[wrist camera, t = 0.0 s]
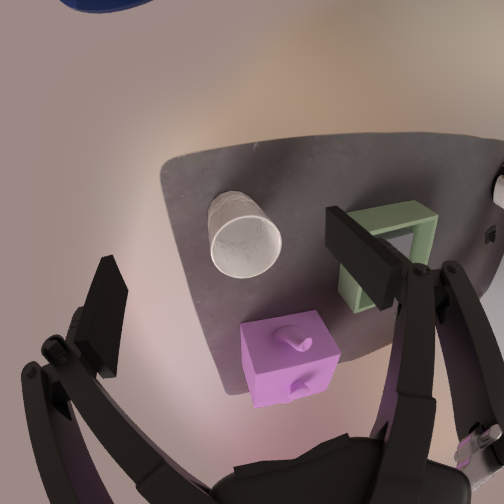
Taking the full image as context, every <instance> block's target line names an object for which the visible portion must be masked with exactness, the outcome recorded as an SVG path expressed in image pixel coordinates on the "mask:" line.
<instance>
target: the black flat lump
mask: <svg viewBox="0 0 504 504" xmlns="http://www.w3.org/2000/svg"><path fill="white" fill-rule="evenodd" d="M495 229H496V226H493V227H491V229H489V230H488V231H487V232H486V241H485V243H486V244H488V243H489V242H491V241H492V242H493V243H494V241H495V236H496V235H495V233H496V230H495Z"/></svg>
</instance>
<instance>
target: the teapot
mask: <svg viewBox="0 0 504 504" xmlns="http://www.w3.org/2000/svg"><path fill="white" fill-rule="evenodd" d="M240 328H241V355H242V366H243V370H244V373H245V377H246V380H247V384H248V388H249V391H250V395H251V398H252V402H253V405H254V408H260V407H265V406H269V405H274V404H278V403H289V402H291V401H292V400H294V399H298V398H302V397H305V396H309V395H313V394H316V393H319V392H323V391H326V389H327V387H328V385H329V382H330V380H331V378H332V375H333V373H334V370H335V368H336V365H337V363H338V360H339V357H340V355H341V351H340V350H339V348H338V346H337V345H336V343H335V341H334V339H333V338H332V336H331V334H330V333H329V331H328V329H327V327H326V326H325V324H324V322H323V321H322V319H321V317H320V316H319V314H318V312H317V311H316V310H312V311H307V312H302V313H297V314H292V315H286V316H281V317H275V318H270V319H264V320H258V321H252V322H246V323H240Z"/></svg>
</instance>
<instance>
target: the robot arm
mask: <svg viewBox="0 0 504 504" xmlns="http://www.w3.org/2000/svg"><path fill="white" fill-rule="evenodd" d="M325 246H326V247H327V248H328V249H329V250H330V252H331V253H332V254H333V255H334V256H335V257H336V258H337V260H338V261H339V262H340V263H341V264H342V265H343V267H344V268H345V269H346V270H347V271H348V272H349V274H350V275H351V276H352V277H353V278H354V280H355V281H356V282H357V283H358V284H359V286H360V287H361V288H362V289H363V290H364V292H365V293H366V294H367V295H368V297H369V298H370V299H371V300H372V301H373V303H374V304H375V305H376V306H377V308H378V309H379V310H380V311H382V310H385V309H387V308H390V307H392V305H393V301H394V298H395V299H396V300H397V301H398V302H399V303H398V306H397V310H396V313H395V316H394V318H396V322H395V330H394V337H393V344H392V350H391V356H390V361H389V367H388V372H387V377H386V382H385V386H384V391H383V396H382V399H381V403H380V407H379V411H378V415H377V419H376V422H375V424H374V426H373V429H372V431H371V433H370V436H369V438H368V437H349V435H348V433H346V434H343V435H341V436H338V437H336V438H334V439H331V440H328V441H325V442H323V443H320V444H319V445H318V446H316V447H314V448H312V449H311V450H309V451H308V452H306V453H304V454H303V455H301V456H299V457H298V458H296V459H291V460H276V461H275V460H273V461H259V462H255V463H250V464H246V465H241V466H236V467H233V468H234V472H233V473H231V474H229V475H227V476H225V477H224V478H222V479H221V480H220V481H218V482H217V483H216V484H215V485H214V486H213V487H212V489H211V488H209V487H208V486H207V485H205V484H204V483H202V482H201V481H199V480H198V479H196V478H195V477H194V476H192V475H191V474H189V473H188V472H187V471H186V470H185V469H183V468H182V467H181V466H180V465H179V464H177V463H176V462H175V461H174V460H173V459H171V458H170V457H169V456H168V455H167V454H166V453H165V452H164V451H163V450H161V449H160V448H159V447H158V446H157V445H156V444H155V443H154V442H153V441H152V440H151V439H150V438H149V437H148V436H147V435H146V434H145V433H144V432H143V431H142V430H141V429H140V428H139V427H138V426H137V425H136V424H135V423H134V422H133V421H132V420H131V419H130V418H129V417H128V415H126V414H125V412H124V411H123V410H122V409H121V408H120V407H119V405H118V404H117V403H116V402H115V401H114V400H113V398H112V397H111V396H110V395H109V394H108V392H107V391H106V390H105V389H104V388H103V386H102V385H101V384H100V383H99V381H98V380H97V379H96V375H97V372H98V373H99V375H100V376H101V377H102V378H103V379H104V378H113V377H116V374H117V364H118V355H119V347H120V339H121V332H122V325H123V319H124V312H125V307H126V301H127V296H128V289H127V286H126V284H125V282H124V280H123V278H122V275H121V273H120V271H119V269H118V266H117V264H116V262H115V259H114V257H113V255H109V256H105V257H102V258H101V260H100V263H99V265H98V268H97V270H96V273H95V276H94V278H93V281H92V284H91V286H90V289H89V292H88V295H87V298H86V301H85V304H84V306H82V307H78V309H77V310H76V311H75V313H74V314H73V317H72V320H71V324H70V326H69V330H68V333H67V336H66V339H65V340H64V339H63V337H61V336H60V335H53V336H51V337H49V338H48V339H47V340H46V341H45V342H44V343H43V345H42V348H41V352H42V355H43V356H44V357H45V358H46V359H47V361H48V362H49V364H47V365H45V366H43V367H41V366H40V365H39V364H38V363H37V362H35V361H32V362H30V363H28V364H27V365H26V366H25V367H24V368H23V370H22V373H21V382H22V392H23V400H24V407H25V413H26V419H27V425H28V429H29V435H30V440H31V444H32V448H33V452H34V455H35V459H36V463H37V466H38V470H39V473H40V476H41V479H42V482H43V485H44V488H45V490H46V493H47V496H48V498H49V501H50V504H114V503H113V501H112V499H111V498H110V496H109V494H108V492H107V490H106V488H105V486H104V484H103V482H102V480H101V478H100V476H99V474H98V472H97V470H96V468H95V465H94V463H93V461H92V459H91V457H90V454H89V452H88V449H87V447H86V444H85V442H84V439H83V437H82V434H81V431H80V428H79V426H78V423H77V420H76V417H75V414H74V411H73V408H72V404H71V401H70V400H72V402H73V404H74V405H75V407H76V408H77V410H78V411H79V413H80V414H81V416H82V418H83V419H84V420H85V422H86V423H87V425H88V426H89V427H90V429H91V430H92V432H93V433H94V434H95V436H96V437H97V439H98V440H99V441H100V443H101V444H102V445H103V446H104V448H105V449H106V450H107V451H108V453H109V454H110V455H111V456H112V458H113V459H114V460H115V461H116V462H117V463H118V464H119V466H120V467H121V468H122V469H123V470H124V471H125V472H126V474H127V475H128V476H129V477H130V478H131V479H132V480H133V481H134V482H135V484H136V489H137V491H138V492H139V493H140V494H141V495H142V496H143V497H144V498H145V499H146V500H147V501H148V502H149V503H150V504H471V493H472V492H474V491H475V490H476V489H478V488H479V487H480V486H482V485H483V484H484V483H485V482H486V481H488V480H489V479H490V478H491V477H493V476H494V475H495V474H496V473H497V472H498V471H500V470H501V469H502V468H504V361H503V358H502V355H501V352H500V349H499V346H498V344H497V341H496V338H495V336H494V333H493V331H492V328H491V326H490V323H489V321H488V319H487V316H486V314H485V311H484V309H483V307H482V305H481V303H480V301H479V298H478V296H477V294H476V292H475V290H474V288H473V286H472V284H471V282H470V280H469V278H468V276H467V275H466V273H465V271H464V269H463V267H462V266H461V265H460V264H458V263H457V262H455V261H450V260H449V261H445V262H443V264H442V267H441V269H437V270H431V269H430V268H429V267H428V266H427V265H425V264H422V263H412V262H411V261H410V260H409V259H408V258H407V257H406V256H405V255H403V254H402V253H401V252H400V251H398V249H397V248H395V247H393V245H392V244H391V243H390V242H388V241H387V240H385V239H383V238H380V237H378V238H375V237H374V236H373V235H372V234H371V233H369V232H368V231H367V230H366V229H365V228H364V227H362V226H361V225H360V224H359V223H358V222H356V221H355V220H354V219H353V218H351V217H350V216H349V215H348V214H347V213H345V212H344V211H343V210H342V209H340V208H339V207H338V206H331V207H326V232H325ZM435 326H436V329H437V333H438V337H439V340H440V344H441V348H442V352H443V356H444V361H445V365H446V370H447V375H448V380H449V386H450V391H451V397H452V404H453V411H454V419H455V425H456V431H457V435H458V439H459V442H460V443H459V445H458V447H457V451H456V453H455V455H454V459H455V461H456V462H457V467H456V468H454V467H450V466H447V465H444V464H441V463H438V462H435V461H432V460H429V459H427V457H428V453H429V449H430V443H431V438H432V432H433V427H434V420H435V413H436V399H435V398H433V397H432V388H433V387H432V386H433V376H434V360H435Z"/></svg>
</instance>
